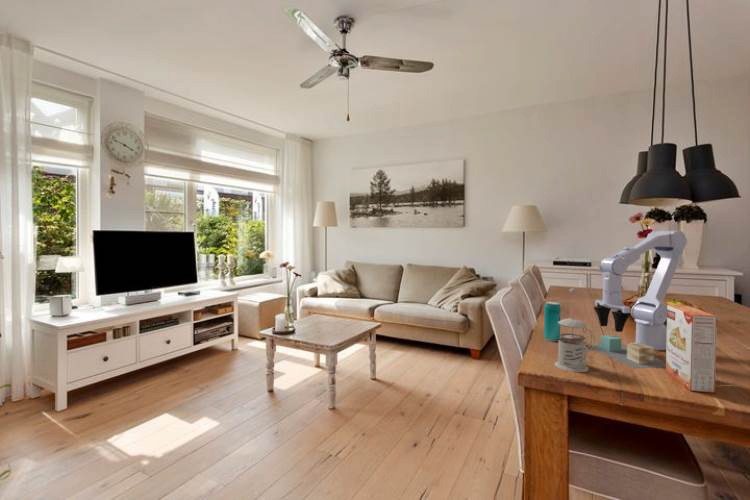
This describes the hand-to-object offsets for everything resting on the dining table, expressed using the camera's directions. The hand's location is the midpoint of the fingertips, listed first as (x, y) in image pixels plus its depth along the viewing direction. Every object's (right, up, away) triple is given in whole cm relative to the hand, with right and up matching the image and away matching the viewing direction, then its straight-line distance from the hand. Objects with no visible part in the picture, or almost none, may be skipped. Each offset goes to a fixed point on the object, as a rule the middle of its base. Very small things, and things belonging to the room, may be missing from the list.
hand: (611, 328), depth 132 cm
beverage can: (-15, -8, +13) cm, 21 cm away
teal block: (0, -8, 0) cm, 8 cm away
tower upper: (+2, -6, -12) cm, 13 cm away
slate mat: (+2, -8, -6) cm, 10 cm away
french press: (-22, -9, -15) cm, 28 cm away
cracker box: (+4, -9, -28) cm, 30 cm away
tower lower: (+2, -8, -12) cm, 14 cm away
